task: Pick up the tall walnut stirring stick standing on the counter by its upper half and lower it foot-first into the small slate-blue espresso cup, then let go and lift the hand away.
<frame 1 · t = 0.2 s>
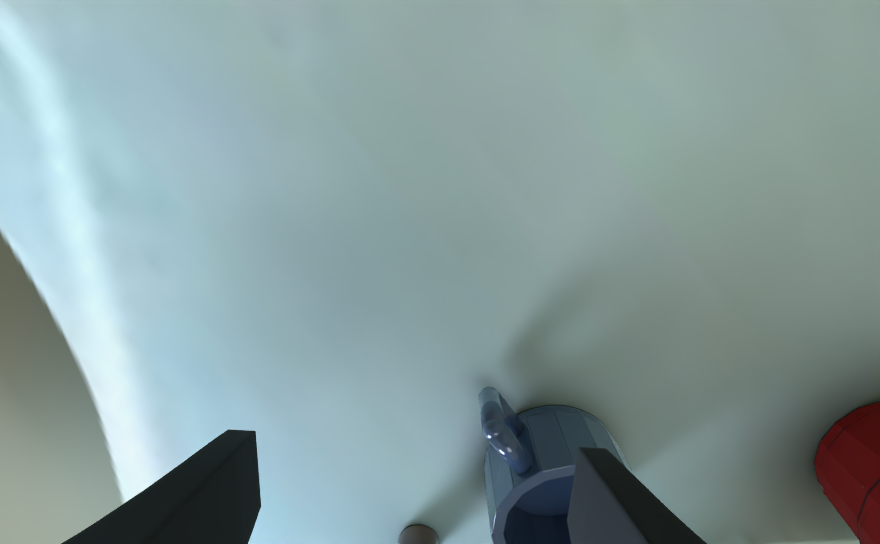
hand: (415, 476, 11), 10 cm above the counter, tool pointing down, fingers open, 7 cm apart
stirrer: (418, 540, 24), on the counter
coffee cup: (550, 462, 23), on the counter
plastic cup: (867, 450, 22), on the counter
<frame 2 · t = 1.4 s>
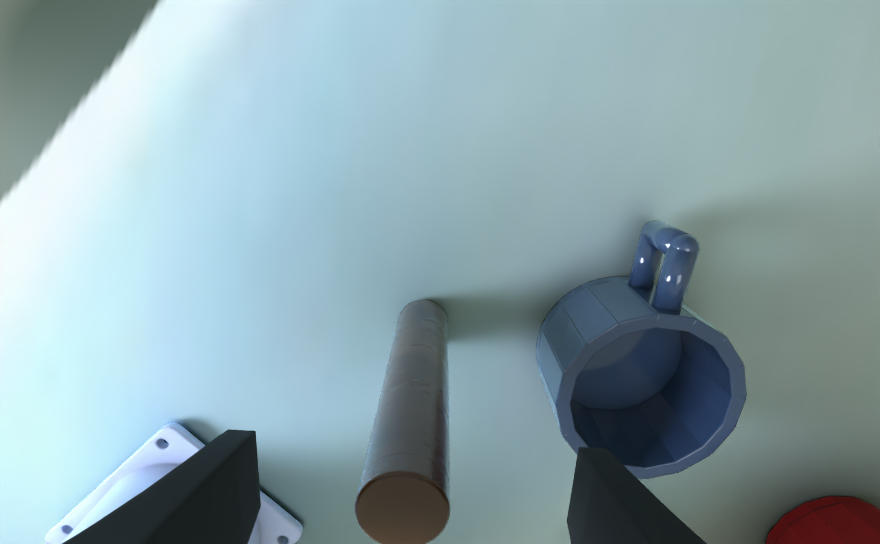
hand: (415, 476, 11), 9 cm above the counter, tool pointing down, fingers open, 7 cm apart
stirrer: (423, 322, 20), on the counter
coffee cup: (611, 347, 20), on the counter
plastic cup: (817, 537, 23), on the counter
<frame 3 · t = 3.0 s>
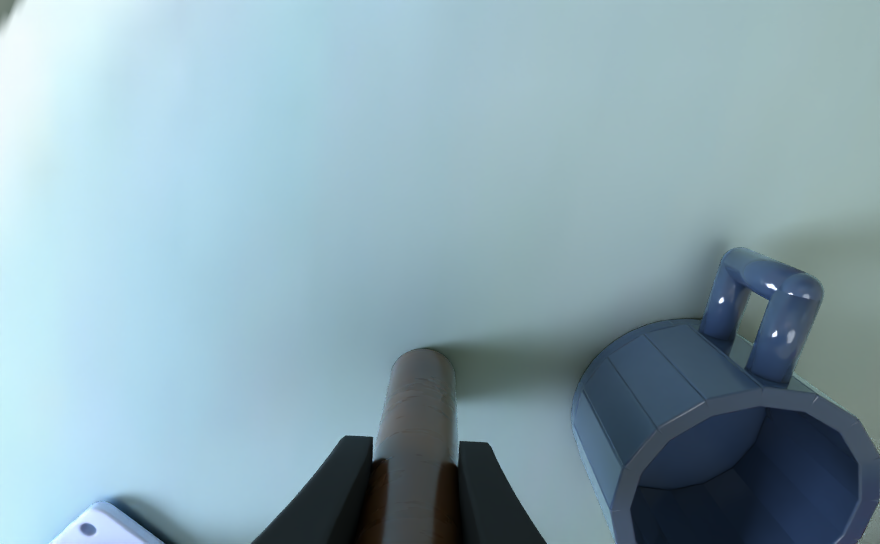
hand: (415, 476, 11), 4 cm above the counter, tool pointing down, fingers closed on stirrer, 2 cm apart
stirrer: (423, 376, 15), on the counter, touching gripper
coffee cup: (669, 409, 15), on the counter
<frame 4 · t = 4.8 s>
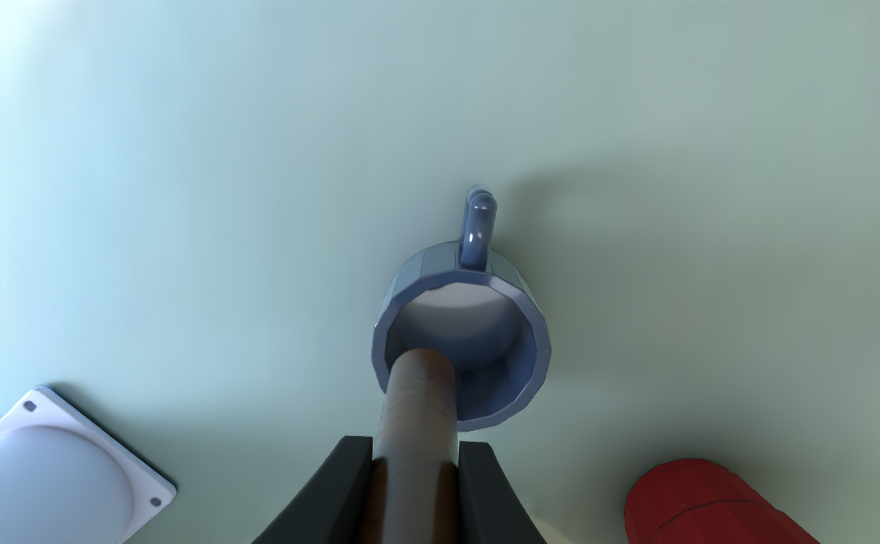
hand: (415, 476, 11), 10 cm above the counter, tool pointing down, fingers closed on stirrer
stirrer: (422, 376, 15), point 6 cm above the counter, touching gripper
coffee cup: (457, 312, 21), on the counter
plastic cup: (676, 500, 24), on the counter
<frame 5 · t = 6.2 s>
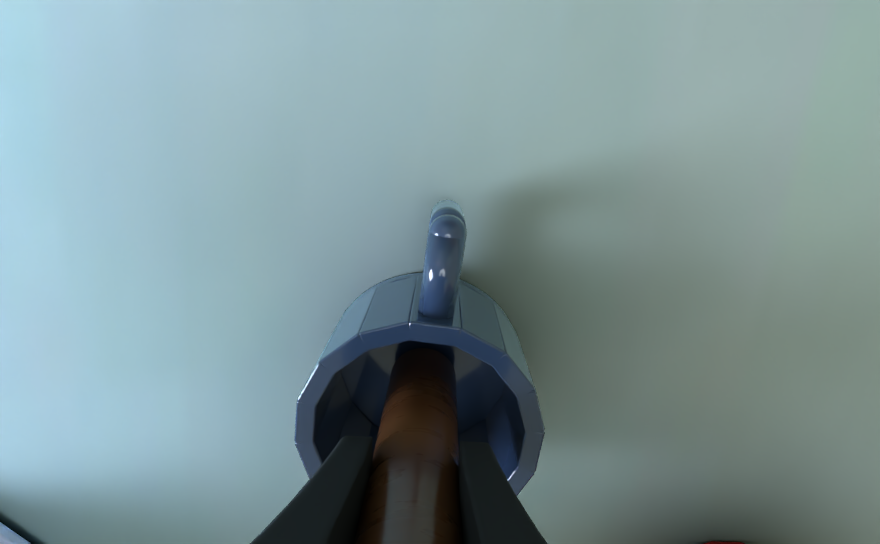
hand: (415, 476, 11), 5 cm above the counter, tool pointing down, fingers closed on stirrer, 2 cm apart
stirrer: (423, 376, 15), point 1 cm above the counter, touching gripper
coffee cup: (425, 362, 16), on the counter
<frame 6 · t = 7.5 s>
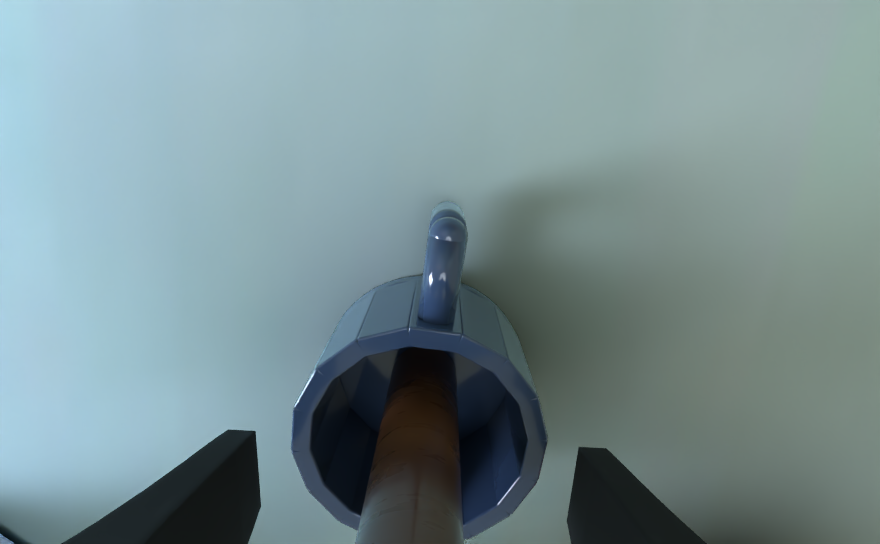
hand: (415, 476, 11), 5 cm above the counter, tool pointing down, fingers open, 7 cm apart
stirrer: (424, 373, 15), resting on coffee cup
coffee cup: (425, 366, 16), on the counter, touching stirrer
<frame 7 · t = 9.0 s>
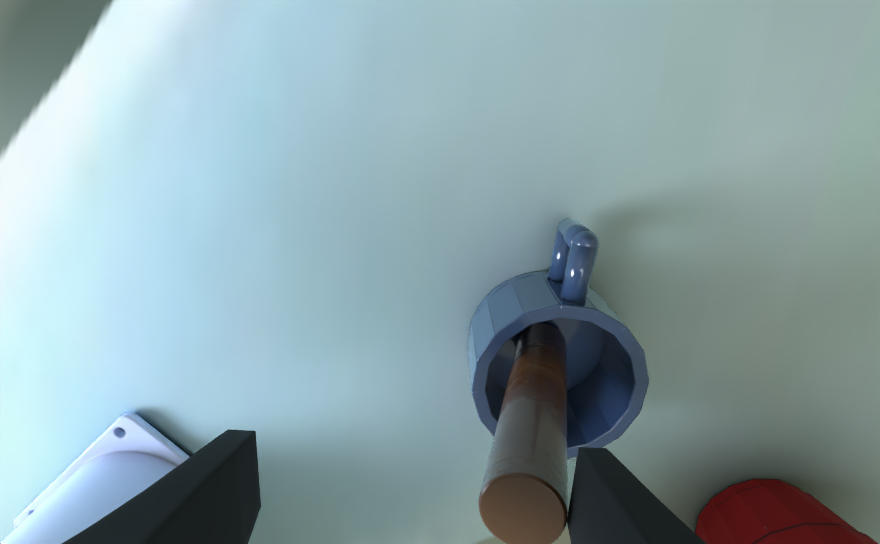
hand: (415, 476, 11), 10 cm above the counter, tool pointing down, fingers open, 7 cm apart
stirrer: (541, 345, 20), point 1 cm above the counter, tilted 14°, touching coffee cup
coffee cup: (539, 338, 21), on the counter, touching stirrer
plastic cup: (747, 519, 24), on the counter
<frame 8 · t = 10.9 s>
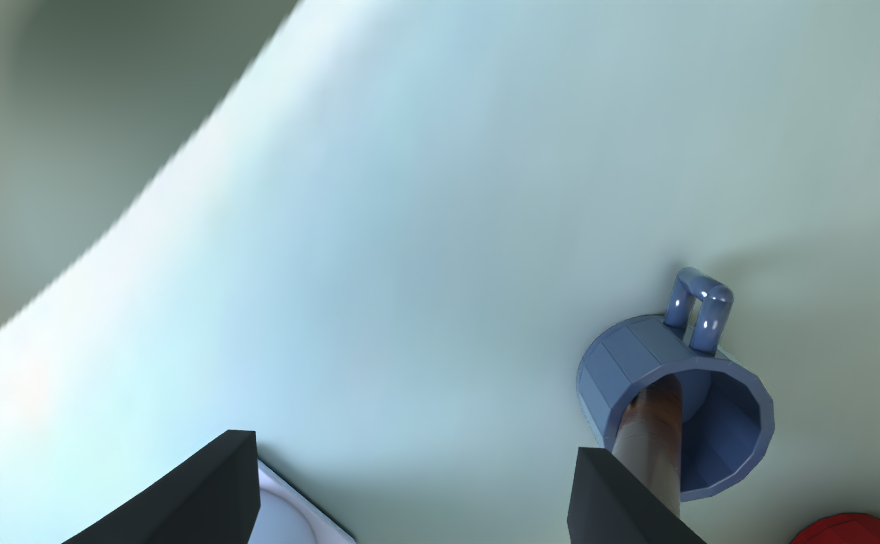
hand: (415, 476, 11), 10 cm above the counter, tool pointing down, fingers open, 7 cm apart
stirrer: (656, 389, 21), point 1 cm above the counter, tilted 27°, touching coffee cup
coffee cup: (645, 378, 22), on the counter, touching stirrer
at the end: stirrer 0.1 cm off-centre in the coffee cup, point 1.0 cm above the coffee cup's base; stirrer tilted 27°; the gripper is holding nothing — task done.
